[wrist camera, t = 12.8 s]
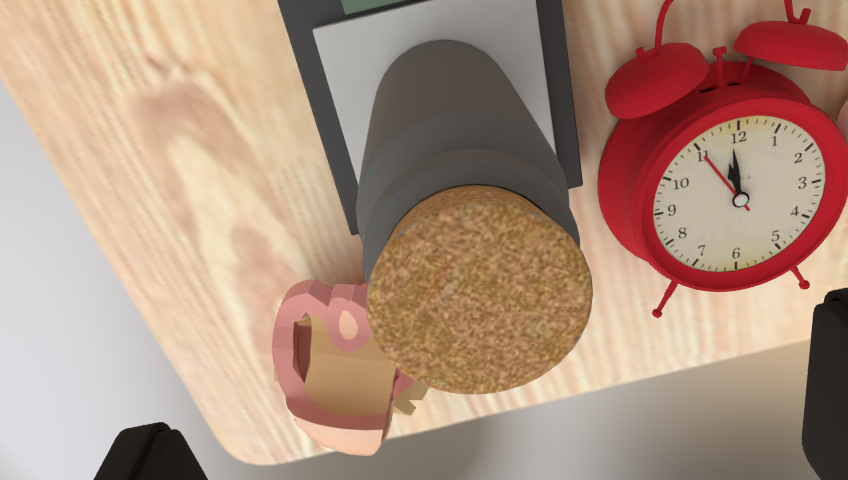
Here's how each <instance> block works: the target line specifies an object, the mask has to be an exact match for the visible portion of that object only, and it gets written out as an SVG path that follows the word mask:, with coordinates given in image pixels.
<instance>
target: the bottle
mask: <svg viewBox="0 0 848 480" xmlns="http://www.w3.org/2000/svg"><path fill="white" fill-rule="evenodd" d="M356 214H357V225H358V230H359V234H360V238H361V240H362V243H363V267H364V275H365V280H366V282H367V285H368V287H367V299H366V312H367V319H368V324H369V327H370V329H371V332H372V334H373V337H374V339H375V341H376V343H377V344H378V346H379V348H380V349H381V351H382V353H383V354H384V355H385V356H386V357H387V358H388V360H389V361H390V362H391V363H392V364H393V365H395V366H396V367H397V368H398V369H399V370H400V371H402V372H403V373H404V374H406V375H407V376H409V377H411V378H413V379H414V380H416V381H418V382H420V383H422V384H424V385H426V386H429V387H432V388H435V389H438V390H442V391H446V392H451V393H458V394H487V393H496V392H501V391H505V390H508V389H512V388H515V387H518V386H521V385H524V384H526V383H528V382H530V381H533V380H535V379H537V378H539V377H540V376H542V375H543V374H545V373H546V372H547V371H549V370H550V369H552V368H553V367H555V366H556V365H557V364H558V363H559V362H560V361H561V360H562V359H563V358H564V357H565V356H566V355H567V354H568V353H569V352H570V351H571V350H572V349H573V348H574V346H575V345H576V343H577V342H578V340H579V339H580V337H581V335H582V333H583V331H584V329H585V327H586V325H587V323H588V319H589V316H590V312H591V306H592V297H593V289H592V277H591V273H590V269H589V267H588V265H587V262H586V260H585V257H584V255H583V252H582V251H581V250H580V237H579V233H578V228H577V224H576V222H575V219H574V217H573V215H572V212H571V210H570V208H569V195H568V187H567V183H566V179H565V176H564V172H563V170H562V167H561V165H560V163H559V161H558V159H557V157H556V154H555V153H554V151H553V149H552V148H551V146H550V144H549V143H548V141H547V139H546V138H545V136H544V134H543V133H542V131H541V129H540V128H539V126H538V124H537V123H536V121H535V120H534V118H533V117H532V115H531V113H530V112H529V110H528V109H527V107H526V106H525V104H524V102H523V101H522V99H521V98H520V96H519V95H518V93H517V91H516V90H515V88H514V87H513V85H512V84H511V82H510V81H509V79H508V78H507V76H506V75H505V73H504V72H503V70H502V69H501V68H500V66H499V65H498V64H497V63H496V62H495V61H494V60H493V59H492V58H491V57H490V56H489V55H488V54H486V53H485V52H484V51H482V50H480V49H478V48H476V47H474V46H472V45H471V44H468V43H464V42H461V41H455V40H447V39H444V40H435V41H428V42H425V43H422V44H419V45H417V46H415V47H412V48H410V49H409V50H407V51H406V52H404V53H403V54H402V55H400V56H399V57H398V58H397V59H396V60H395V61H394V62H393V63H392V64H391V65H390V67H389V68H388V69H387V71H386V72H385V73H384V75H383V77H382V79H381V81H380V83H379V86H378V89H377V91H376V95H375V100H374V104H373V108H372V113H371V118H370V123H369V129H368V134H367V140H366V145H365V150H364V156H363V161H362V167H361V173H360V180H359V186H358V195H357V204H356Z"/></svg>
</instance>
